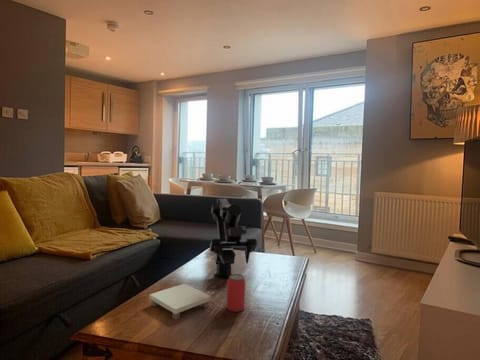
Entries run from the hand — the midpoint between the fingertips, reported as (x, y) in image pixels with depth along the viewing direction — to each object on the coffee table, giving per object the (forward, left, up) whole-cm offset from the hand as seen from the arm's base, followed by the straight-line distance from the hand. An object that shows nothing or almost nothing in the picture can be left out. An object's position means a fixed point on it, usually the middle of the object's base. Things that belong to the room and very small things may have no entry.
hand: (236, 263), depth 129 cm
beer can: (+6, -6, -15) cm, 17 cm away
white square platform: (-9, -20, -14) cm, 26 cm away
